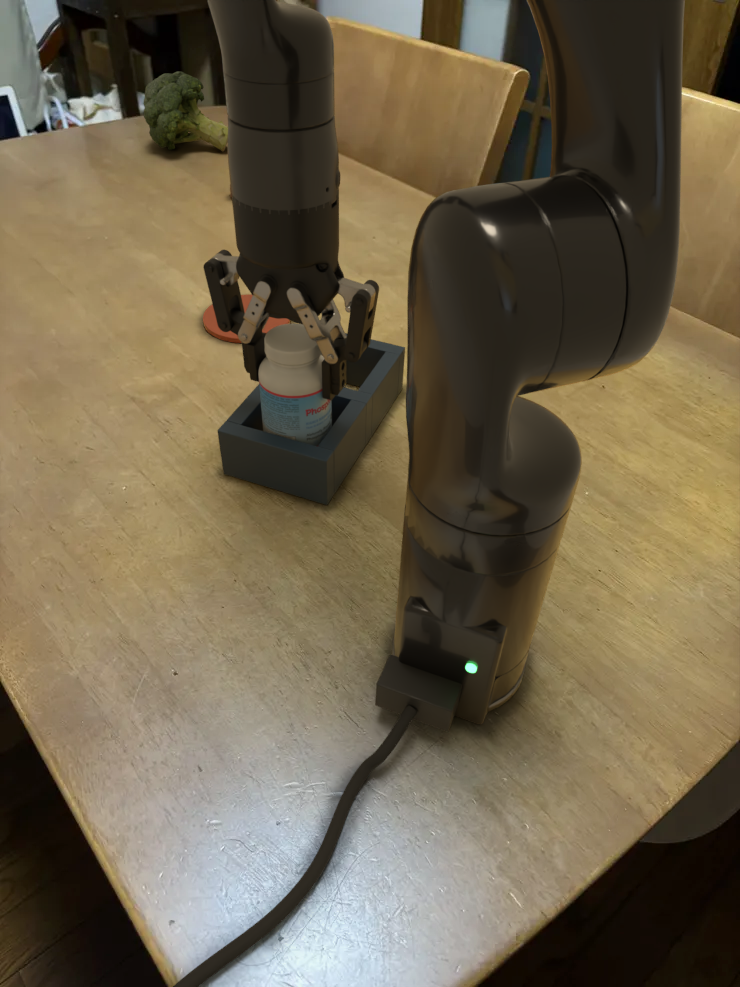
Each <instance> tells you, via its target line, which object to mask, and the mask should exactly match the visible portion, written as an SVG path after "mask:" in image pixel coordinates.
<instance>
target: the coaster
mask: <svg viewBox="0 0 740 987" xmlns="http://www.w3.org/2000/svg"><path fill="white" fill-rule="evenodd" d="M252 296H253V295H252V294H251V293H249V294H247V293H246V294H241V298H242V303H243V307H244V312H246V310H247V308H248V305H249V303H250V301H251V298H252ZM291 322H292V321H291V320H289V319H287V318H281V319H277V318H272V317H269V318H268V321H267V323H266V325H265V327H264V329H263V330H262V332H263V333H267V332H268V331H269V330H271V329H272V328H274V327H276V326H279V325H283V324H291ZM202 323H203V327H204V329H205V330H206V331H207V333H208V334H210V335H211V336H212V337H214V338H215V339H219V340H222V341H224V342H229V343H236V344H242V342H241V341H240V340H239V338H238V335H236V334H235V333H233V332H231V331H229V332H223V331H222V330H220V328H219V327H218V324H217V320H216V316H215V312H214V308H213V304H212V303H211V304H210V305H209V306H208V307H207V308H206V309H205V310H204V312H203V315H202Z"/></svg>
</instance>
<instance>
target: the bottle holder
mask: <svg viewBox="0 0 740 987" xmlns="http://www.w3.org/2000/svg"><path fill="white" fill-rule="evenodd" d="M345 334H346V336H347V332H345ZM321 355H322V353H321ZM405 355H406V347H405V346H402V345H397V344H393V343H389V342H385V341H380V340H376V339H372V338H371V341H370V345H369V346H368V348H367V349H365V351H364V352H363V353H362V355H361V357H360V358H359V359H358V361H357V362H349V361H348V360H346V384H347V385H350V386H355V387H357V388H358V390H356V389H352V388H348V387H345V386H344V387H343V389H342V390H341V391H340V393H339V394H338V395H335V397H334V398H333V399H332V400H331V403H332V427H331V429H330V430H329V432H328V433H327V434H326V436H325V437H324V439H323V440H322V441H321V443H320V444H319V445H318V447H317V446H314V445H310V444H306V443H303V442H299V441H296V440H292V439H289V438H285V437H282V436H278V435H275V434H271V433H267V432H264V431H263V422H262V411H261V400H260V388H259V384H257V386H256V387H254V389H253V390H252V391H251V392H250V393H249V394H248V395H247V397H246V398H245V399H243V401H242V402H241V403H240V404H239V406H238V407H237V408H236V409H235V410H234V411H233V412H232V413H231V414H230V416H229V417H228V418H227V419H226V420H225V421H224V422H223V424H221V425H220V427H219V428H218V429H217V436H218V438H217V439H218V446H219V453H220V460H221V465H222V473H223V475H226V476H230V477H233V478H235V479H240V480H242V481H246V482H248V483H249V482H250V483H252V484H256V485H260V486H262V487H266V488H269V489H272V490H276V491H278V492H282V493H286V494H289V495H292V496H296V497H299V498H302V499H305V500H309V501H312V502H315V503H318V504H321V505H325V506H328V505H329V503H330V501H331V500H332V498H333V497H334V495H335V494H336V492H337V491H338V489H339V488H340V486H341V484H342V483H343V482H344V481H345V479H346V477H347V475H348V474H349V472H350V470H352V468H353V467H354V464H355V463H356V462H357V460H358V458H359V457H360V455H361V454H362V452H363V450H364V449H365V447H366V446H367V444H368V443H369V442H370V440H371V438H372V437H373V435H374V433H375V432H376V431H377V429H378V427H379V425H380V424H381V423H382V421H383V420H384V418H385V416H386V415H387V413H388V412H389V410H390V409H391V407H392V406H393V405H394V403H395V401H396V400H397V398H398V396H399V395H400V394H401V392H402V390H403V387H404V386H403V385H404V384H403V383H404V372H405V371H404V370H405V368H404V367H405ZM322 356H323V355H322Z"/></svg>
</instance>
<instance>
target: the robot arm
mask: <svg viewBox="0 0 740 987" xmlns="http://www.w3.org/2000/svg"><path fill="white" fill-rule="evenodd" d="M685 1H686V0H526V3H527V5H528V7H529V9H530V12H531V14H532V17H533V22H534V23H535V27H536V29H537V32H538V35H539V40H540V44H541V48H542V51H543V55H544V61H545V67H546V74H547V82H548V93H549V107H550V121H551V122H550V124H551V154H550V155H551V156H550V157H551V158H550V172H549V176H546V177H545V176H544V177H538V178H530V179H522V180H514V181H507V182H497V183H488V184H482V185H474V186H467V187H461V188H456V189H453V190H449V191H446V192H443V193H442V194H440V195H438V196H436V197H435V198H434V199H433V200H432V201H431V202H430V203H429V204H428V205H427V207H425V210H424V211H423V213H422V215H421V216H420V219H419V221H418V223H417V225H416V228H415V232H414V235H413V238H412V239H413V240H412V244H411V248H410V253H409V254H410V256H409V263H408V270H407V274H408V275H407V296H406V297H407V298H406V300H407V308H406V309H407V312H406V313H407V316H406V318H407V319H406V320H407V346H406V347H407V348H406V349H407V352H406V388H405V418H406V419H405V420H406V431H407V432H406V433H407V441H408V466H407V480H406V494H405V505H404V515H403V525H402V538H401V550H400V561H399V575H398V585H397V586H398V587H397V599H396V609H395V622H394V624H395V625H394V633H393V638H392V643H391V654H390V653H389V656H388V657H387V660H386V663H385V664H384V667H383V669H382V670H381V673H380V675H379V678H378V680H377V682H376V686H375V704H374V705H375V706H376V707H378V708H380V709H381V708H382V709H384V710H387V711H389V712H392V713H394V714H397V715H399V717H398V719H397V720H396V721H395V723H394V724H393V726H392V728H391V729H390V731H389V733H388V734H387V736H386V737H385V739H384V740H383V741H382V742H381V744H380V745H379V746H378V747H377V749H376V750H375V751H374V752H373V753H372V754H370V755H369V756H368V757H367V758H366V759H364V760H363V761H362V762H361V763H360V765H359V766H358V767H357V769H356V770H355V771H354V773H353V775H352V776H351V778H350V779H349V781H348V783H347V785H346V786H345V788H344V790H343V792H342V794H341V796H340V798H339V801H338V803H337V805H336V807H335V811H334V812H333V815H332V817H331V820H330V823H329V825H328V828H327V830H326V833H325V835H324V837H323V840H322V841H321V844H320V846H319V848H318V851H317V852H316V854H315V856H314V858H313V860H312V861H311V863H310V865H309V866H308V868H307V869H306V870H305V872H304V873H303V874H302V876H301V877H300V879H299V880H298V881H297V882H296V883H295V885H294V886H293V887H292V888H291V889H290V891H289V892H288V893H287V894H286V895H285V896H284V897H283V898H282V899H281V900H280V901H279V902H278V903H277V904H276V905H275V906H274V907H273V908H272V909H271V910H270V911H269V912H268V913H266V914H265V915H264V916H263V917H261V919H259V920H258V921H257V922H255V923H254V924H253V925H251V926H250V927H249V928H248V929H246V930H244V932H242V933H241V934H240V935H238V936H237V937H236V938H234V939H232V941H229V943H227V944H226V945H224V946H223V947H221V949H219V950H218V951H216V952H215V953H213V954H211V955H210V956H209V957H208V958H207V959H205V960H204V961H203V962H200V964H199V965H197V966H196V967H195V968H193V969H192V970H191V971H190V972H188V974H186V975H185V976H183V977H182V978H181V979H180V980H179V981H177V982H176V983H175V984H174V985H172V987H201V985H203V984H204V983H205V982H207V981H208V980H209V979H211V978H212V977H213V976H214V975H215V974H217V973H218V972H220V971H221V970H222V969H224V968H225V967H226V966H228V965H229V964H230V963H232V962H234V961H235V960H236V959H238V958H239V957H240V956H242V955H243V954H244V953H245V952H247V951H249V950H250V949H251V948H252V947H253V946H255V945H257V943H259V942H260V941H261V940H263V939H264V938H265V937H266V936H267V935H268V934H270V933H271V932H273V930H275V929H276V928H277V927H278V926H279V925H280V924H281V923H283V922H284V920H285V919H287V918H288V916H289V915H290V914H292V912H293V911H294V910H295V909H296V908H297V907H298V905H300V904H301V902H302V901H303V900H304V899H305V897H306V896H307V895H308V894H309V893H310V891H311V890H312V889H313V887H315V885H316V883H317V882H318V880H319V878H320V877H321V875H322V874H323V872H324V870H326V867H327V865H328V863H329V861H330V860H331V857H332V854H333V853H334V850H335V848H336V846H337V844H338V841H339V838H340V836H341V833H342V830H343V827H344V825H345V823H346V819H347V817H348V814H349V812H350V810H351V807H352V805H353V803H354V801H355V799H356V797H357V795H358V793H359V792H360V789H361V788H362V787H363V785H364V783H365V782H366V780H368V777H369V776H370V775H371V773H373V771H374V770H375V769H376V768H378V767H380V766H381V764H383V763H385V761H386V760H387V758H389V756H390V755H391V754H392V752H393V751H394V750H395V748H396V747H397V746H398V744H399V743H400V741H401V739H402V738H403V736H404V735H405V733H406V732H407V729H409V727H410V725H411V724H412V722H413V721H417V722H418V723H421V724H424V725H428V726H430V727H433V728H435V729H438V730H441V731H443V732H446V733H449V732H450V729H451V726H452V723H453V721H454V718H455V717H457V718H460V719H463V720H465V721H467V722H469V723H474V724H476V725H482V724H483V723H484V722H485V719H486V716H487V714H488V712H491V711H493V710H496V709H498V708H499V707H501V706H503V705H504V704H505V703H507V702H508V701H509V700H511V699H512V697H513V696H514V695H515V694H516V692H517V691H518V689H519V688H520V686H521V684H522V680H523V678H524V675H525V672H526V671H525V670H526V664H527V659H528V655H529V653H530V649H531V646H532V641H533V637H534V634H535V631H536V628H537V624H538V620H539V618H540V613H541V611H542V607H543V603H544V599H545V596H546V593H547V589H548V586H549V583H550V579H551V576H552V572H553V569H554V566H555V562H556V559H557V555H558V552H559V548H560V545H561V542H562V538H563V536H564V533H565V529H566V525H567V522H568V518H569V515H570V511H571V508H572V505H573V501H574V499H575V495H576V490H577V488H578V484H579V481H580V476H581V472H582V465H583V460H582V459H583V458H582V450H581V446H580V443H579V441H578V439H577V437H576V435H575V434H574V432H573V430H572V429H571V428H570V427H569V426H568V425H567V423H566V422H565V421H564V420H563V419H562V418H560V417H559V416H558V415H557V414H556V413H554V412H553V411H552V410H550V409H548V408H547V407H545V406H543V405H541V404H539V403H537V402H535V401H534V400H531V399H528V398H526V397H523V395H528V394H531V393H532V394H533V393H537V392H541V391H542V392H543V391H546V390H552V389H556V388H560V387H564V386H565V387H566V386H568V385H574V384H579V383H581V382H586V381H592V380H595V379H599V378H603V377H608V376H611V375H614V374H618V373H620V372H621V373H622V372H623V371H626V370H628V369H630V368H632V367H634V366H636V365H637V364H639V363H640V362H641V361H643V359H644V358H646V356H647V355H648V354H650V352H651V351H652V350H653V349H654V347H655V346H656V344H657V342H658V340H659V338H660V337H661V334H662V332H663V330H664V328H665V326H666V323H667V321H668V317H669V314H670V309H671V305H672V302H673V297H674V294H675V287H676V281H677V273H678V265H679V264H678V262H679V251H680V250H679V249H680V233H681V232H680V230H681V192H682V191H681V188H682V187H681V185H682V184H681V183H682V182H681V180H682V178H681V177H682V114H683V113H682V104H683V57H684V56H683V52H684V51H683V50H684V21H685V20H684V18H685V3H686V2H685ZM206 2H207V5H208V8H209V11H210V15H211V18H212V21H213V25H214V29H215V31H216V35H217V40H218V43H219V48H220V53H221V62H222V75H223V76H222V77H223V85H224V94H225V95H224V96H225V106H226V115H227V127H228V142H227V145H226V147H227V149H226V150H227V164H228V173H229V182H230V183H229V186H230V185H231V195H232V197H231V203H232V213H233V214H232V215H233V221H234V222H233V224H234V234H235V244H236V248H237V251H238V252H239V255H238V256H237V255H232V253H231V252H230V251H229V250H228V249H221V250H220V251H219V252H217V253H215V255H213V256H212V257H211V258H209V259H208V260H207V261H206V262H205V263H204V264H203V271H204V276H205V279H206V283H207V287H208V292H209V295H210V299H211V305H212V304H213V308H214V312H215V316H216V320H217V324H218V327H219V328H220V330H222V331H223V332H229V331H231V332H233V333H235V334H236V335H238V338H239V340H240V341H241V342H242V343H241V350H242V357H243V367H244V369H245V371H246V373H247V374H249V378H250V380H251V381H254V382H257V383H259V375H258V372H259V367H260V364H261V362H262V361H263V359H264V358H265V357H266V354H265V344H264V339H265V335H266V333H263V332H262V330H263V329H264V327H265V325H266V323H267V321H268V318H269V317H272V318H277V319H281V318H287V319H289V320H291V321H290V322H293V323H294V324H303V325H304V327H305V329H306V331H307V333H308V335H309V337H310V339H311V340H314V341H316V343H317V345H318V347H319V349H320V351H321V353H322V355H323V357H324V360H323V361H322V397H323V398H324V399H328V400H332V399H333V398H334V397H335V395H338V394H339V393H340V391H341V390H342V389H343V387H345V386H346V384H347V383H346V360H348V361H349V362H357V361H358V359H359V358H360V357H361V355H362V353H363V352H364V351H365V349H367V348H368V346H369V345H370V341H371V339H372V336H373V328H374V322H375V318H376V311H377V304H378V298H379V292H380V286H379V283H378V282H377V281H376V280H373V279H367V280H366V281H365V282H364V283H361V282H359V281H355V280H352V279H349V278H346V277H345V275H344V272H343V270H342V269H341V265H340V262H339V252H340V186H341V171H340V154H339V144H338V138H337V129H336V116H335V115H336V114H335V112H336V111H335V109H336V108H335V106H336V105H335V45H334V34H333V31H332V28H331V27H332V26H331V25H330V23H329V20H328V19H327V18H326V16H324V14H322V13H321V12H319V11H318V10H316V9H313V8H311V7H307V6H303V5H299V4H294V3H288V2H282V1H277V0H206ZM239 279H241V281H242V282H243V284H244V285H245V287H246V288H247V289H248V291H249V292H250V294H252V295H253V296H252V298H251V301H250V303H249V305H248V308H247V310H246V312H244V307H243V303H242V298H241V295H242V294H241V290H240V286H239ZM337 295H340V296H341V298H343V301H344V307H345V308H344V311H345V312H346V313H347V314H348V313H349V319H348V325H347V332H345V330H344V328H343V326H342V323H341V319H342V316H341V312H340V310H339V309H338V306H337V305H336V302H335V300H334V299H335V297H337ZM320 315H321V318H319V316H320ZM345 333H347V336H346V334H345Z"/></svg>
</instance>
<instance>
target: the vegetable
mask: <svg viewBox="0 0 740 987" xmlns="http://www.w3.org/2000/svg"><path fill="white" fill-rule="evenodd" d="M203 89H204V85H203V83H202V81H201V80H200V79H199V78H197V77H194V76H192V75H190V74H188V73H185V72H184V71H178V70H177V71H175V72H173V73H169V72H168V73H163V74H161V75H159V76H158V77H157V78H154V80H152V81H151V82H148V84H146V86H145V90H144V99H143V106H144V109H143V118H144V120H145V123H146V124H147V125H148V127H149V132H148V133H149V137H150V139H151V140H152V141H153V142H154V143H155V144H157V146H158V147H159V148H167V150H169V151H170V150H175V149H176V146H175V145H176V144H182V143H190V142H196V141H204V142H206V143H209V144H211V145H212V146H213V147H214V148H216V149H218V150H220V151H221V152H224V151H225V150H226V147H227V145H228V125H225V124H224V122H223V121H222V120H221V121H218V122H217V121H215V120H212V119H210V118H209V117H208V116H206V115H205V114H204V113H202V111H201V110H200V108H199V107H198V102H199V101H200V103H202V102H203V101H205V95H204V93H203V92H202V90H203Z"/></svg>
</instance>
